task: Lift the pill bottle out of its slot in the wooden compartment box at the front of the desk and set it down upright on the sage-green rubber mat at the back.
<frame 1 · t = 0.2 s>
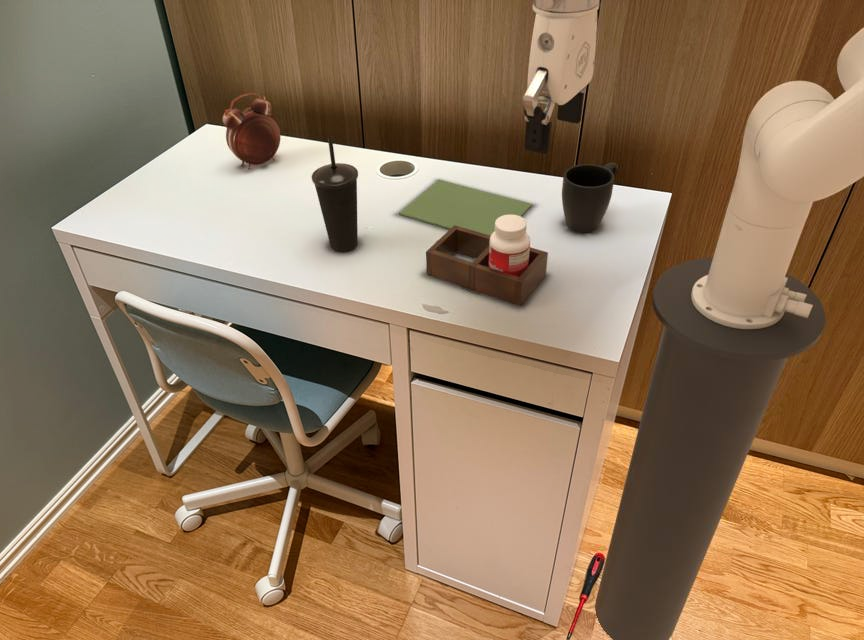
hand: (553, 135, 93), 26 cm above the table, tool pointing down, fingers open, 9 cm apart
pill bottle: (507, 283, 114), resting in wooden compartment box
alarm clock: (258, 164, 151), on the table
wooden compartment box: (485, 275, 116), on the table
mug: (588, 221, 126), on the table
drinking cup: (344, 245, 126), on the table
mat: (465, 210, 131), on the table
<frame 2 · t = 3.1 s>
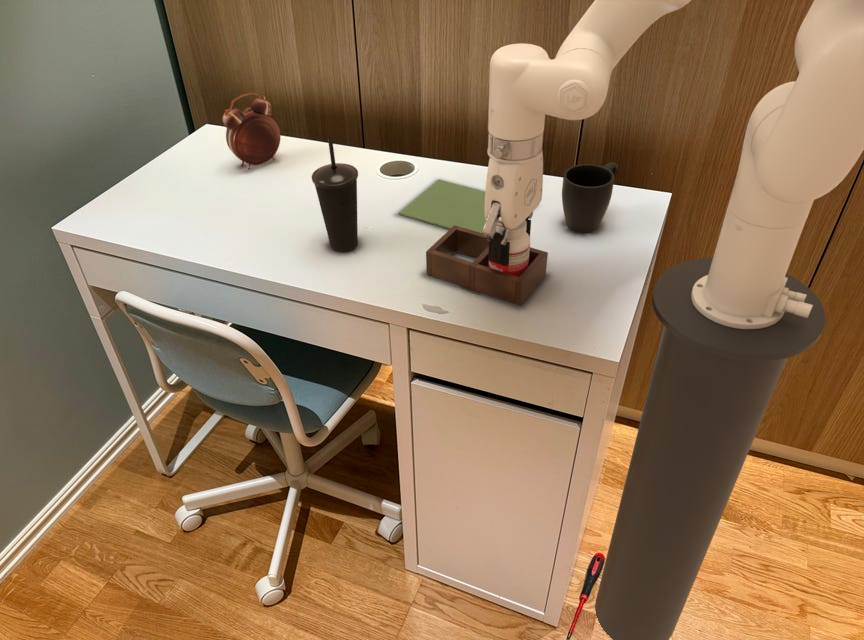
hand: (509, 250, 110), 6 cm above the table, tool pointing down, fingers closed on pill bottle, 6 cm apart
pill bottle: (507, 283, 114), resting in wooden compartment box, touching gripper
everything else where it was.
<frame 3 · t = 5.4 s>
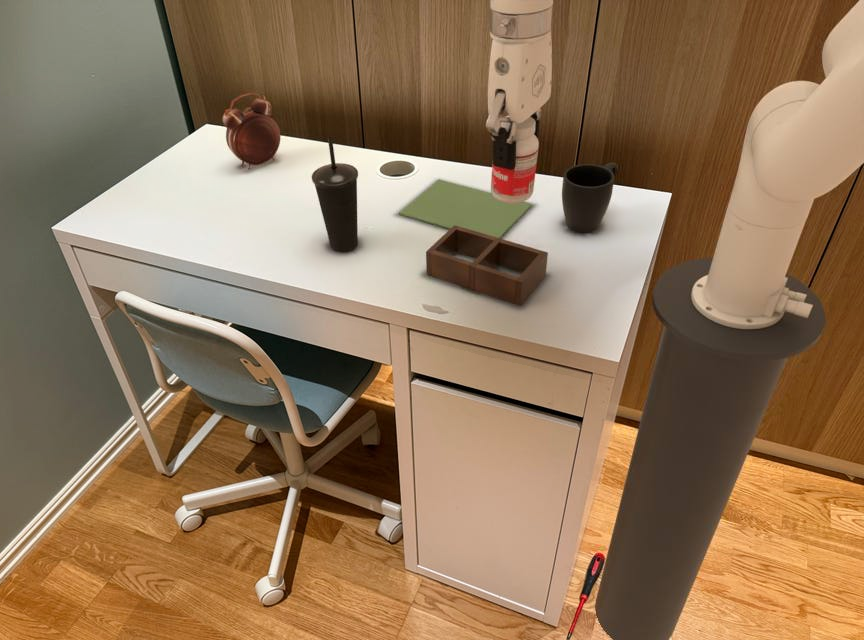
hand: (515, 155, 100), 22 cm above the table, tool pointing down, fingers closed on pill bottle, 6 cm apart
pill bottle: (511, 194, 104), point 15 cm above the table, touching gripper
everything else where it was.
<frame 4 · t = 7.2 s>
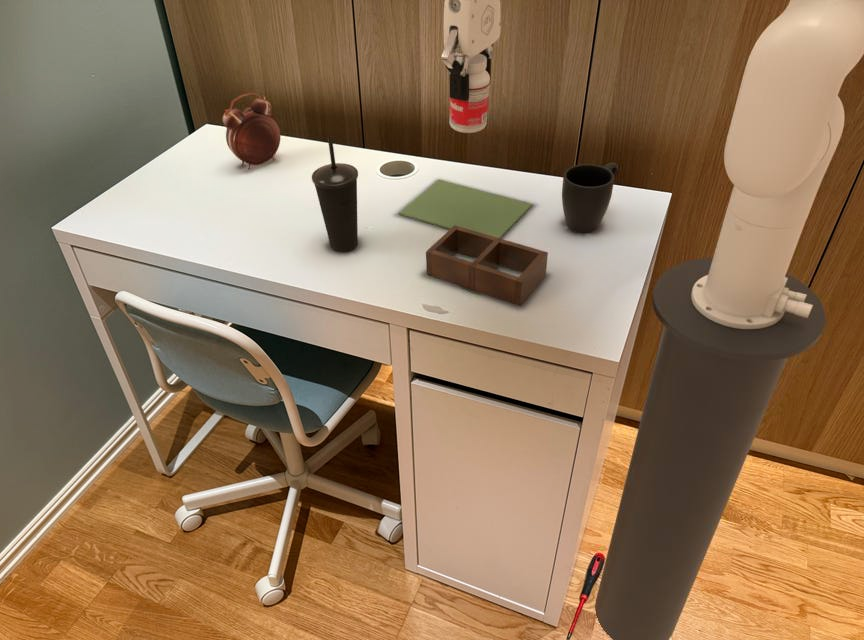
hand: (470, 89, 114), 23 cm above the table, tool pointing down, fingers closed on pill bottle, 6 cm apart
pill bottle: (467, 126, 118), point 17 cm above the table, touching gripper
everything else where it was.
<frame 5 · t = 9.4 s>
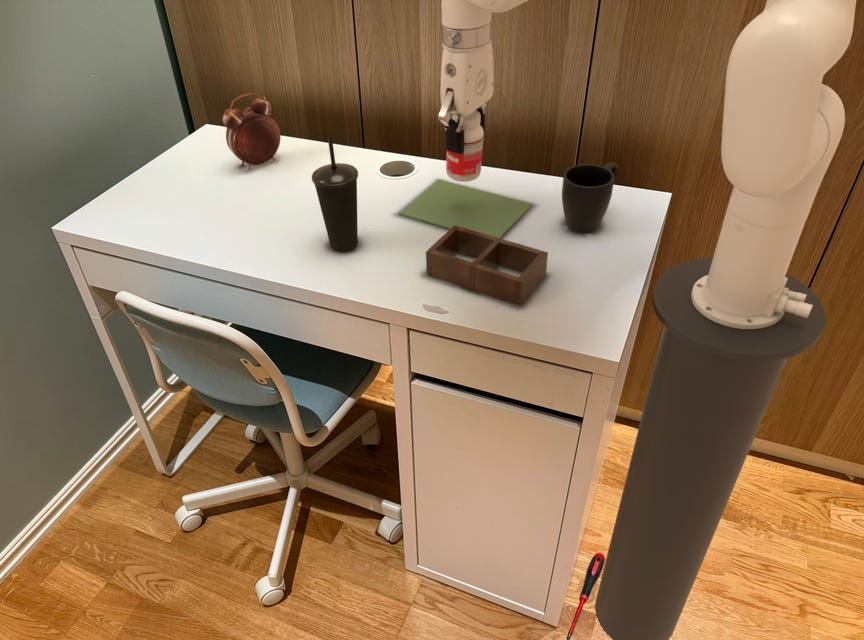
hand: (465, 142, 122), 13 cm above the table, tool pointing down, fingers closed on pill bottle, 6 cm apart
pill bottle: (463, 175, 127), point 7 cm above the table, touching gripper
everything else where it was.
when the fingers open (7 cm above the table, at t = 11.5 s): pill bottle stays where it is, resting on mat.
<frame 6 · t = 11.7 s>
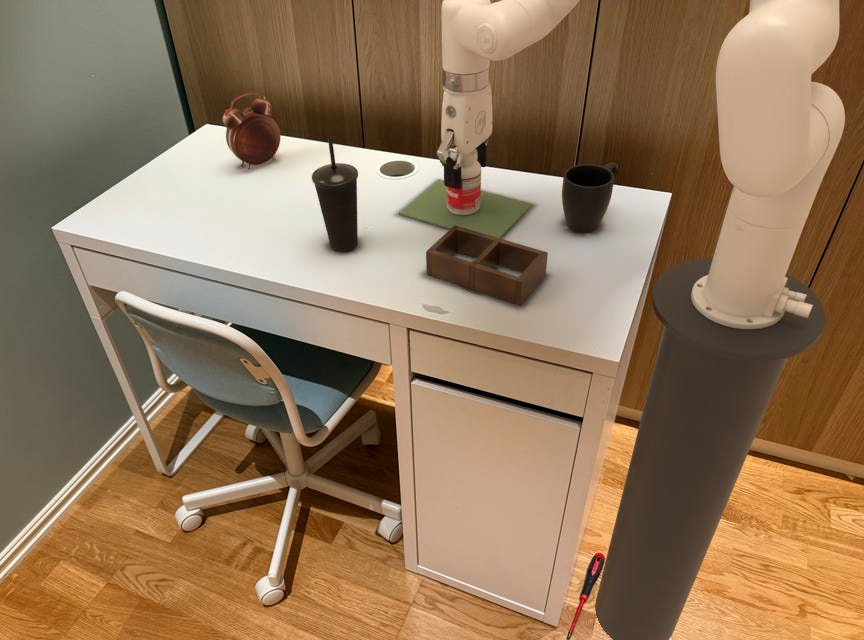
hand: (465, 175, 126), 7 cm above the table, tool pointing down, fingers open, 8 cm apart
pill bottle: (463, 208, 131), resting on mat
everything else where it was.
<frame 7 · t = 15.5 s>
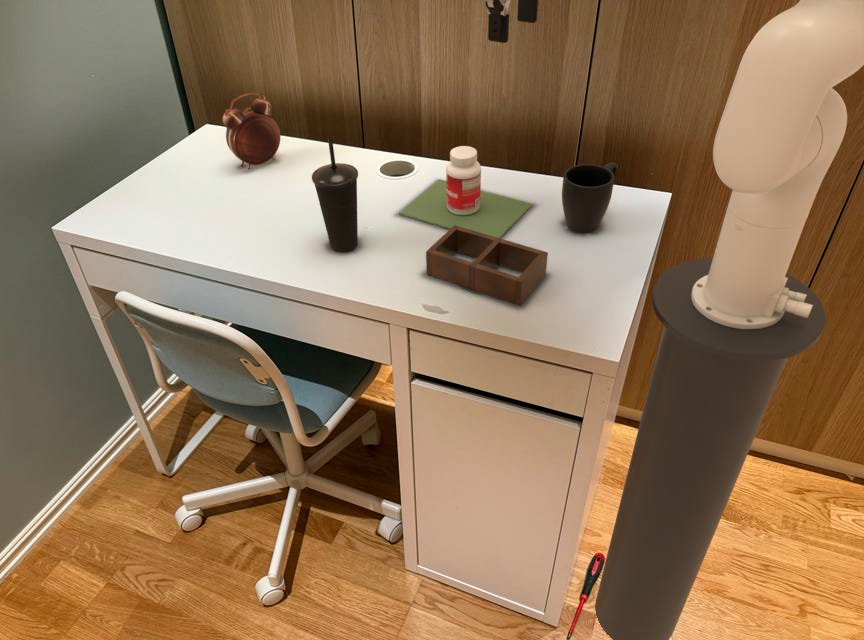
hand: (512, 31, 112), 30 cm above the table, tool pointing down, fingers open, 9 cm apart
nothing on the table moved.
at the end: pill bottle inside the target area on the mat (0.3 cm from its centre), point 0.2 cm above the mat's base; pill bottle tilted 0°; pill bottle touching mat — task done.
